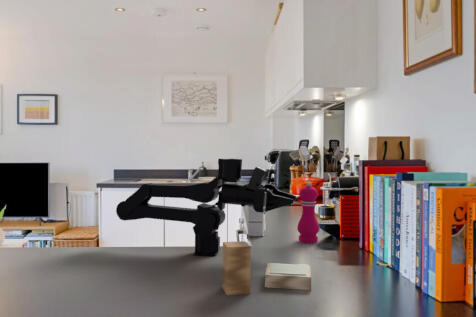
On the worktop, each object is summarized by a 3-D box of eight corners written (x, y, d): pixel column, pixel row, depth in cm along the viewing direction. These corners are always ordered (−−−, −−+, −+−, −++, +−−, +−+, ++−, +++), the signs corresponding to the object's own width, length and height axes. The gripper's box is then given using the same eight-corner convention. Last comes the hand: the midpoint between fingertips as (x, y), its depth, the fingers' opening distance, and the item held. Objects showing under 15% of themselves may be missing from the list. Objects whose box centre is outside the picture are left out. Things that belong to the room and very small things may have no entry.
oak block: (226, 295, 87) (227, 247, 87) (222, 287, 92) (222, 242, 92) (250, 293, 88) (250, 246, 88) (244, 286, 93) (245, 241, 93)
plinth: (264, 287, 92) (265, 273, 92) (267, 274, 102) (267, 262, 102) (311, 289, 91) (311, 276, 91) (309, 276, 101) (309, 263, 101)
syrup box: (263, 236, 147) (264, 195, 147) (247, 235, 148) (247, 195, 148) (265, 233, 153) (266, 193, 153) (249, 232, 154) (250, 193, 154)
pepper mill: (320, 240, 143) (321, 181, 142) (317, 244, 136) (318, 182, 135) (299, 238, 145) (300, 180, 145) (295, 242, 138) (296, 182, 138)
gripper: (234, 168, 111) (293, 172, 107) (247, 165, 129) (298, 169, 126) (232, 210, 111) (291, 215, 108) (245, 201, 129) (296, 206, 126)
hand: (294, 199), depth 117 cm, fingers open, 9 cm apart
